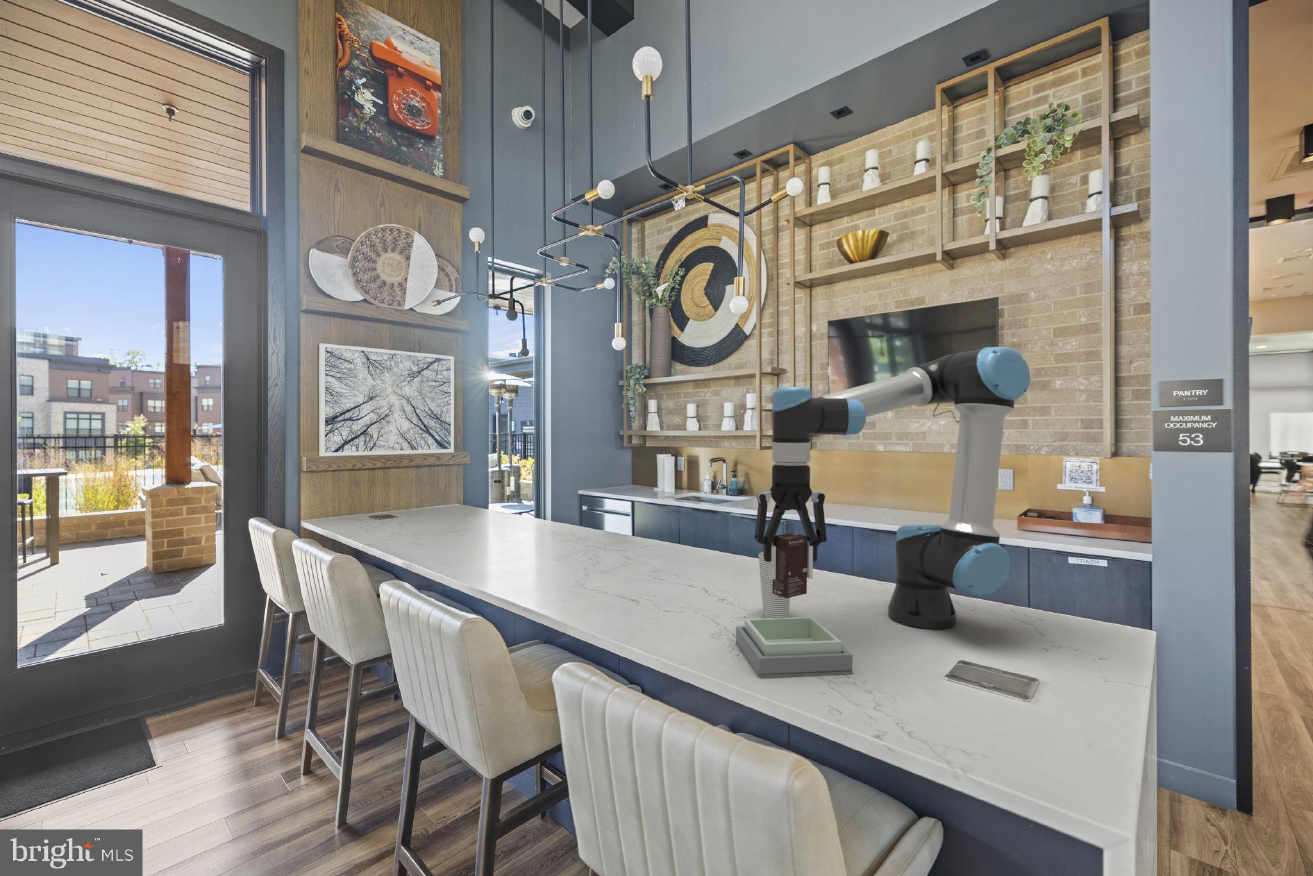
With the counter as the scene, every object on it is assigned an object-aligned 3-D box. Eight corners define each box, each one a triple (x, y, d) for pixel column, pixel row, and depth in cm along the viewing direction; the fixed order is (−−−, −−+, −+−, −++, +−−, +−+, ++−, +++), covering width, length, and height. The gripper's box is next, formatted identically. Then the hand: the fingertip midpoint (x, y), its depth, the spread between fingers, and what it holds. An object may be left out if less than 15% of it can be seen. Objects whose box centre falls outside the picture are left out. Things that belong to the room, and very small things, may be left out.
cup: (798, 615, 144) (798, 553, 144) (786, 625, 137) (786, 559, 136) (766, 610, 148) (766, 549, 148) (752, 619, 141) (753, 555, 141)
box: (788, 599, 114) (787, 538, 113) (771, 594, 117) (771, 535, 117) (809, 594, 117) (808, 535, 117) (792, 589, 121) (791, 532, 121)
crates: (816, 639, 127) (816, 614, 127) (852, 673, 109) (852, 644, 109) (735, 642, 125) (736, 617, 125) (759, 678, 107) (759, 647, 107)
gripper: (830, 462, 122) (829, 571, 122) (738, 462, 119) (737, 573, 120) (846, 464, 114) (845, 581, 114) (747, 464, 112) (746, 583, 112)
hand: (790, 577), depth 117 cm, fingers closed on box, 7 cm apart
